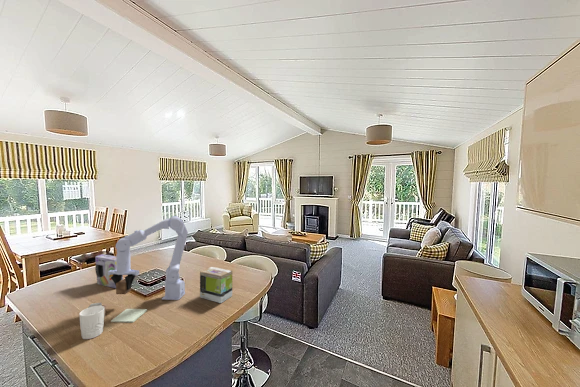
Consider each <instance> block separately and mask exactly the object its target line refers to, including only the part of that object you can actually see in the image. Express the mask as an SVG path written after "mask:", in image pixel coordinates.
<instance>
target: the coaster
mask: <svg viewBox="0 0 580 387" xmlns="http://www.w3.org/2000/svg"><path fill="white" fill-rule="evenodd" d="M147 311H148V309H147V308H126V309H124V310H123V311H122V312H121V313H119V314H118V315H117V316H115V317H114V318H112V319H111V320H110V322H111V323H133V324H134V323H135V321H137V320H138V319H139V318H140V317H141V316H143V314H145V313H146V312H147Z"/></svg>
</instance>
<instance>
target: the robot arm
mask: <svg viewBox="0 0 580 387" xmlns="http://www.w3.org/2000/svg"><path fill="white" fill-rule="evenodd" d="M163 229H164V230H169V229H171V230H173V231H174V232H176V234H177V237H176V241H175V245H174V248H173V252H172V255H171V260H170V263H169V265H168V267H166V270H165V275H166V278H165V280H164V296H162V298H161V300H165V301H168V300H173V301H179V300H180V299H182V297H184V295H186V284H185V283H186V282H185V280H182V279H181V278H180V272H179V271H180V267H181V266H180V265H181V261H182V256H183V253H184V251H185V246H186V241H187V238H188V234H189V232H188V230H187V228H186V224H185V222H184V221H183V220H182V218H180V217H179V216H177V215H173V216H170V217H168V218H165V219H163V220H161V221H159V222H157V223H156V224H153V225H151V226H150V227H148V228H146V229H145V230H142V229H136V230H134V232H133V233H131V234H128V235H125V236H124V237H121V238H120V239H118V240H117V242H116V243H115V249H116V254H115V257H116V258H117V270H110V271H108V275H113V276H112V277H111V279H112V280H113V282H114V283H115V285H116V283H117V282H119V281H121V280H122V275H123V276H124V280H126V287H127V290H129V289H130V288H131V289H132V286H133V282H134V279H135V278H136V276H139V275H140V270H137V269H133V268H132V267H131V247H134V246H135V245H138V244H139V243H141V242H143V241H146V239H147V237H148V236H149V235H151V234H154V233H156V232H158V231H160V230H163ZM131 268H132V269H131Z"/></svg>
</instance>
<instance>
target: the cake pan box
mask: <svg viewBox="0 0 580 387" xmlns="http://www.w3.org/2000/svg"><path fill="white" fill-rule="evenodd" d="M94 258H95V274H96V285H99V286H104V287H109V288H112V289H116V285H115V283H114V282H113V280H112V279H111V277H112V276H113V275H108V271H110V270H117V258H116V255H115V256H114V255H110V254H98V255H96V256H95V257H94ZM123 276H124V275H122V280H124V277H123Z"/></svg>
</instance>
